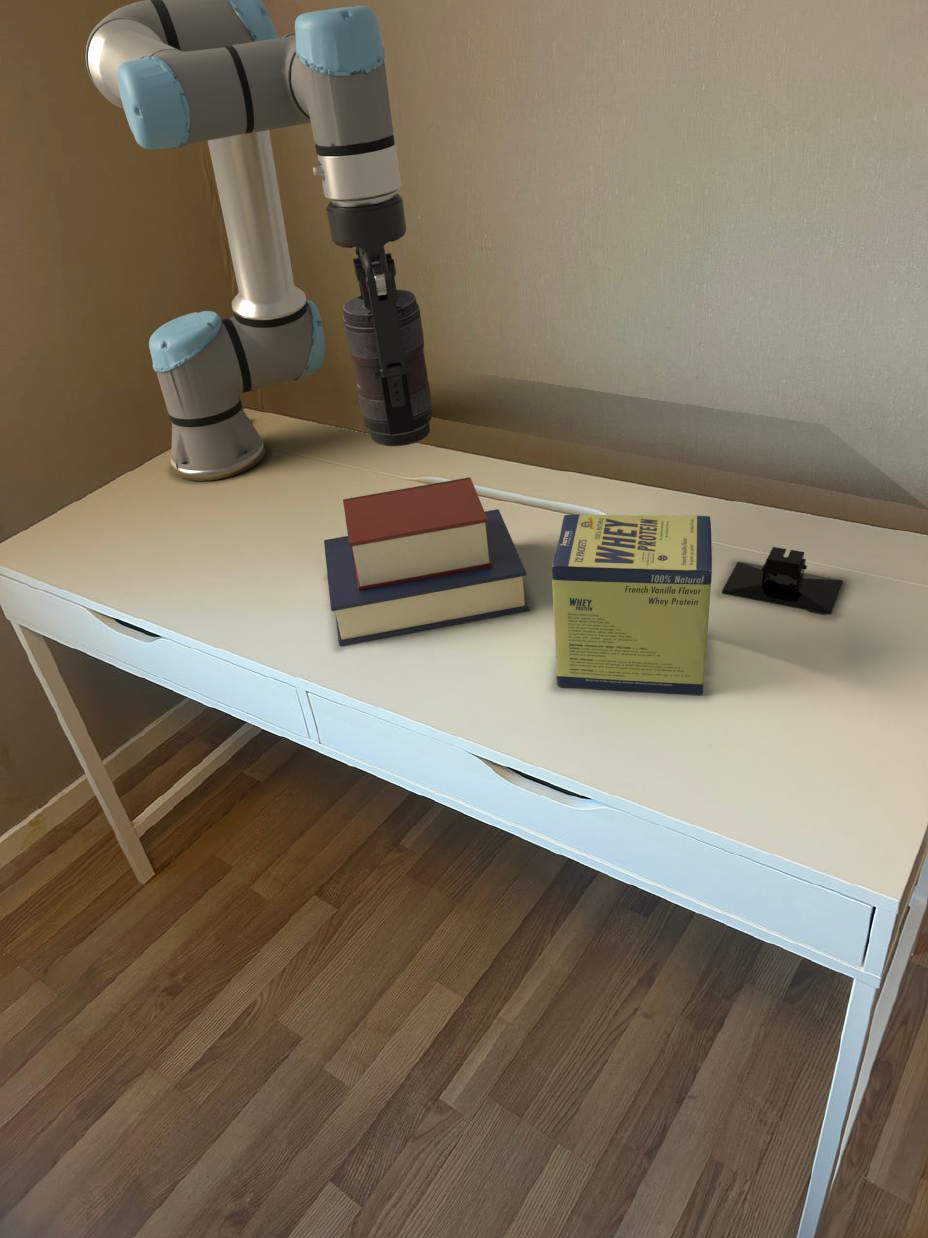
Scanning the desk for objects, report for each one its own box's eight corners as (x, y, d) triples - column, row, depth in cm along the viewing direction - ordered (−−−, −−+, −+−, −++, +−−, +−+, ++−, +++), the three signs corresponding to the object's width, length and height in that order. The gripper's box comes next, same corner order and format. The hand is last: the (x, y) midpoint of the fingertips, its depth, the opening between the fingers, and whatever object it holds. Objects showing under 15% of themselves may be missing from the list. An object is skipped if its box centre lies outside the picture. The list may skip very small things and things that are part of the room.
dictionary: (351, 544, 118) (342, 499, 114) (475, 522, 119) (470, 476, 115) (358, 590, 109) (349, 543, 105) (492, 566, 110) (487, 518, 107)
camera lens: (356, 430, 107) (332, 298, 98) (422, 413, 109) (404, 283, 100) (375, 456, 101) (351, 318, 92) (445, 438, 103) (428, 301, 94)
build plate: (843, 583, 110) (848, 549, 107) (830, 617, 105) (835, 583, 102) (737, 563, 115) (740, 531, 112) (720, 594, 110) (723, 561, 107)
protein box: (705, 696, 96) (713, 569, 87) (555, 688, 99) (548, 565, 90) (705, 635, 104) (712, 513, 95) (566, 630, 108) (560, 512, 99)
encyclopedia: (331, 575, 123) (323, 539, 120) (501, 544, 125) (498, 508, 121) (339, 646, 110) (330, 608, 107) (529, 610, 112) (526, 572, 108)
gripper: (320, 183, 99) (356, 388, 112) (330, 225, 82) (372, 460, 95) (390, 173, 99) (418, 378, 112) (415, 212, 82) (444, 448, 95)
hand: (397, 415), depth 104 cm, fingers closed on camera lens, 8 cm apart
